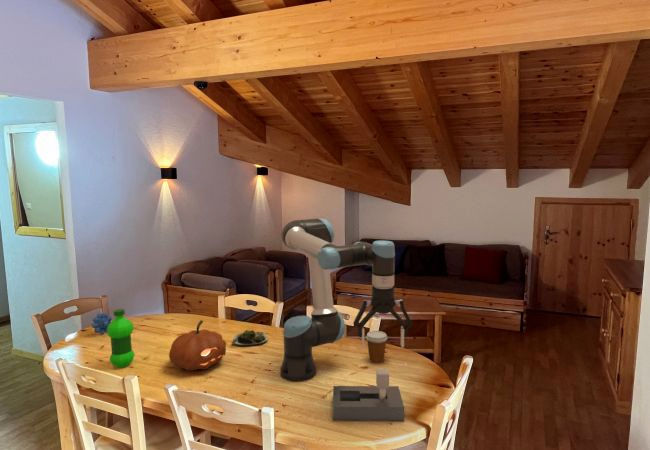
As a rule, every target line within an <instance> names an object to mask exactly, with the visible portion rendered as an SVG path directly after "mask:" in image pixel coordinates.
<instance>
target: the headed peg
mask: <svg viewBox="0 0 650 450" xmlns="http://www.w3.org/2000/svg"><path fill="white" fill-rule="evenodd" d="M375 374H376V376H375V377H376V381H375V382H376V386H377V388H379V399H386V388H389V386H390V372H389V369H388V368H387V369H386V368H385V369H383V368H380V369H379V368H377V369H376V373H375Z"/></svg>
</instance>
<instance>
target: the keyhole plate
mask: <svg viewBox="0 0 650 450" xmlns="http://www.w3.org/2000/svg"><path fill="white" fill-rule="evenodd" d="M332 391H333V392H332V421H333V422H334V421H335V422H336V421H342V422H344V421H345V422H346V421H347V422H348V421H349V422H352V421H353V422H360V421H361V422H405V405H404V401H403V398H402V394H401V391H400V388H399V386H398V385H397V386H395V385H394V386H393V385H391V386H390V385H389V388H386V399H379V388H377V385H333V388H332Z"/></svg>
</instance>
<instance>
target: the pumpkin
mask: <svg viewBox="0 0 650 450" xmlns="http://www.w3.org/2000/svg"><path fill="white" fill-rule="evenodd" d="M203 323H204V320H202V319H201V320H200V321H199V322H198V323H197V326H196V330H191V331H189V332H187V333H182V334H180V335H179V336H177V337H175V338H174V341H173V342H172V343H171V346H170V349H169V353H168V357H169V361H170V362H171V364H173V365H174V366H176V367H178V368H181V369H185V370H187V371H195V370H206V369H208V368H209V367H211V366H213V365H214V366H215V365H216V364H218V363H219V362H220V361H221V360H222V359H223V357H224V356H226V351H227V348H226V345H227V343H226V341H225V340H224V338H223V335H222V334H221V333H219V332H216V331H212V330H209V329H205V328H204V329H200V327H201V325H202V324H203Z"/></svg>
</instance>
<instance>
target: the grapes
mask: <svg viewBox="0 0 650 450" xmlns="http://www.w3.org/2000/svg"><path fill="white" fill-rule="evenodd" d="M112 321H113V320H112V316H110V315H108V313H107V312H103V313H101V312H99V313H97V314H96V316H94V317H93V318H92V323H91V328H93V330H94V332H95V333H96V334H100V335H105V333H107V328H108V326H109V324H110V323H111V322H112Z"/></svg>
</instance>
